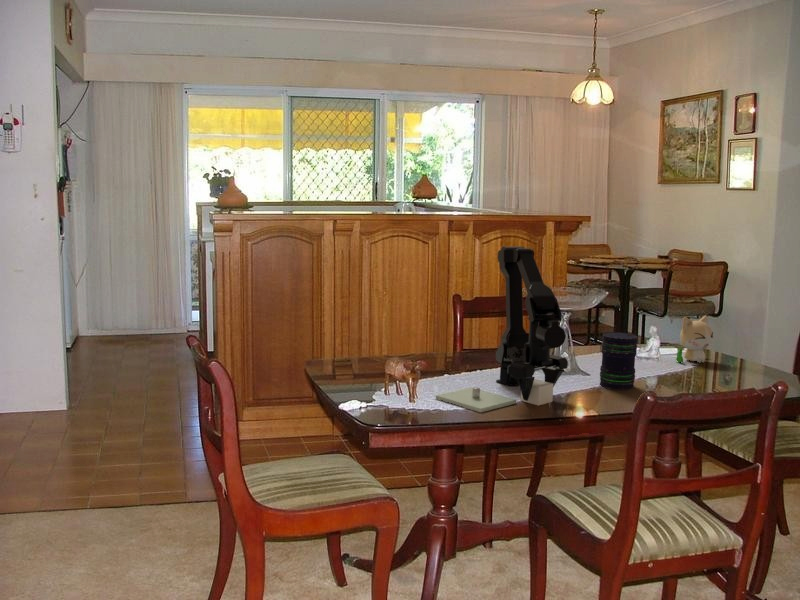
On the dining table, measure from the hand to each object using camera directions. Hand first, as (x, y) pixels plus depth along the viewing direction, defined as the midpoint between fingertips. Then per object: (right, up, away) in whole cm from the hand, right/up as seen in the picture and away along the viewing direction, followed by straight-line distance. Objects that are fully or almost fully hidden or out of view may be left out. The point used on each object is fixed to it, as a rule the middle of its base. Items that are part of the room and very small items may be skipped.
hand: (536, 397), depth 224 cm
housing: (0, -1, 0) cm, 1 cm away
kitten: (+61, +5, +55) cm, 82 cm away
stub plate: (-16, -1, -1) cm, 16 cm away
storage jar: (+26, +1, +19) cm, 32 cm away
